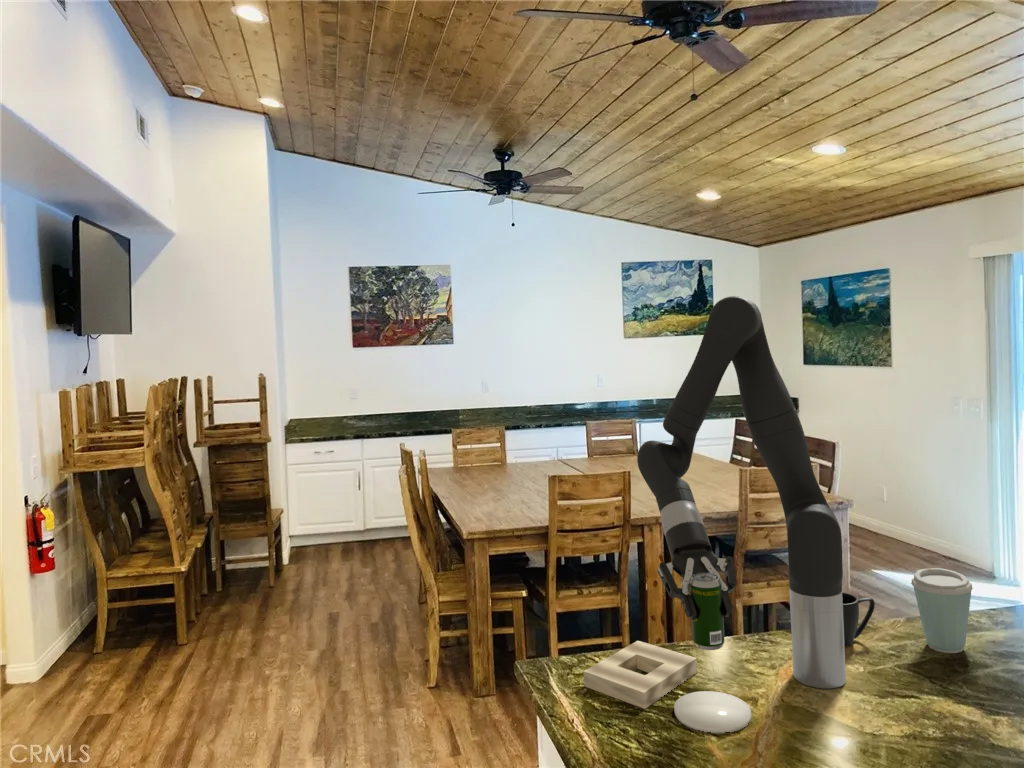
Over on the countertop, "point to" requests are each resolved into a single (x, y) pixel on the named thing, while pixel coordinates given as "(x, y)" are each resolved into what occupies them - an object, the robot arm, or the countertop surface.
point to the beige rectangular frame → (634, 687)
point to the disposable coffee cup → (943, 607)
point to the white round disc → (712, 712)
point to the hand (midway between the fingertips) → (710, 616)
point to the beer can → (707, 611)
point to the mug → (854, 616)
